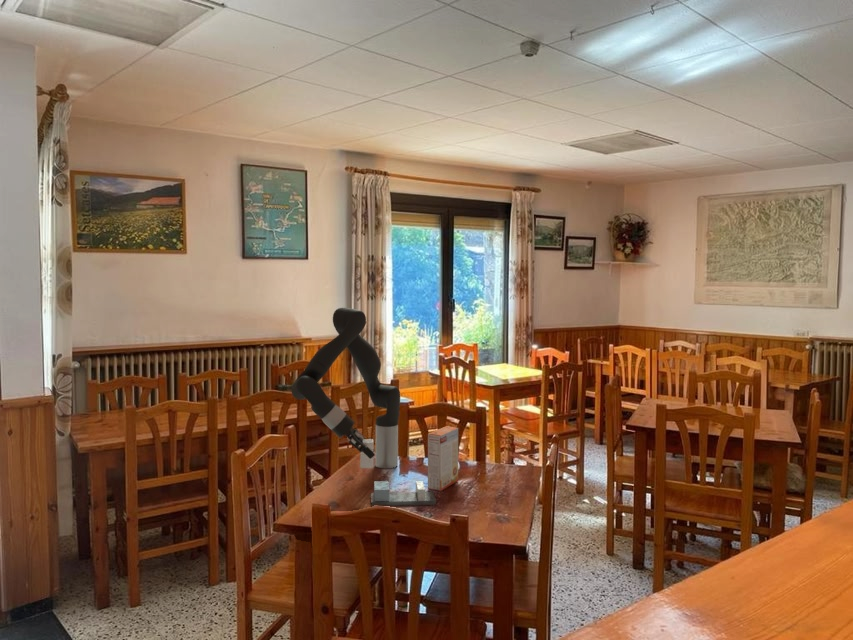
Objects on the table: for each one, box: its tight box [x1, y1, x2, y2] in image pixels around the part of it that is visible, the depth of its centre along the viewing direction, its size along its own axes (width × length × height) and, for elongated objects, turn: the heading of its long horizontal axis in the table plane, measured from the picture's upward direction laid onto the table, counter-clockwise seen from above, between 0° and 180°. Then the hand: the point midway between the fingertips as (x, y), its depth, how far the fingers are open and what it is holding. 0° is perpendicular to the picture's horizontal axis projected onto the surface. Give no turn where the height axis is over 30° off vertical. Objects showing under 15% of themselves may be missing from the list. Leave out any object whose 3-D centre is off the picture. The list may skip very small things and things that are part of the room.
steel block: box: [359, 438, 375, 469], centre depth 220 cm, size 4×4×9 cm
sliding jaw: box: [373, 480, 390, 501], centre depth 218 cm, size 9×5×4 cm, turn 6°
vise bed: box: [370, 480, 437, 507], centre depth 219 cm, size 9×22×6 cm, turn 96°
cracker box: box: [427, 425, 459, 492], centre depth 236 cm, size 14×6×21 cm, turn 149°
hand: (372, 454), depth 221 cm, fingers closed on steel block, 4 cm apart
